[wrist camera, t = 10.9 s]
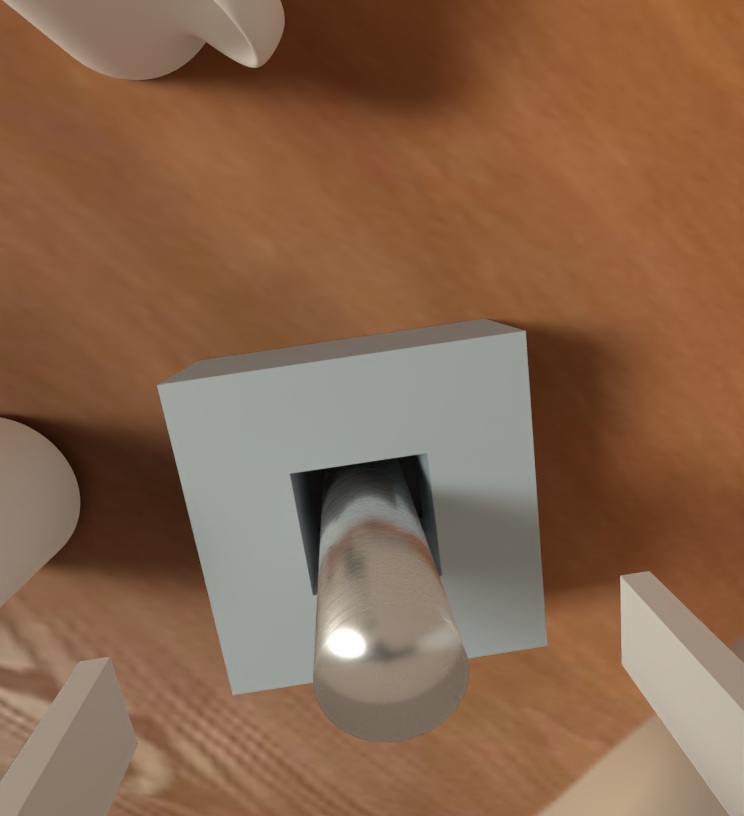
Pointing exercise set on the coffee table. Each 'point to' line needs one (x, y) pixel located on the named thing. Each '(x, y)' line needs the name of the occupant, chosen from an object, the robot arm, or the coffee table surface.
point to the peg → (381, 611)
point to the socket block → (351, 444)
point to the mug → (156, 31)
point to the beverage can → (32, 504)
